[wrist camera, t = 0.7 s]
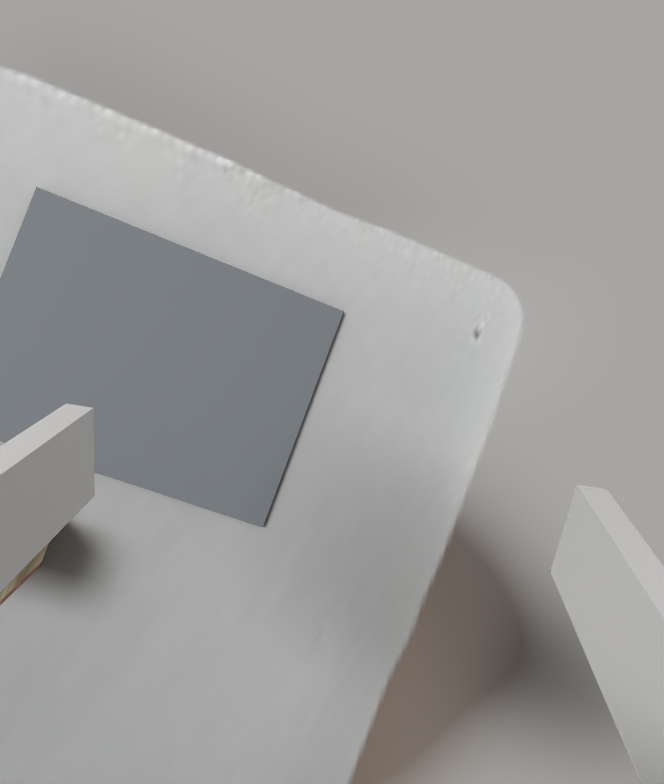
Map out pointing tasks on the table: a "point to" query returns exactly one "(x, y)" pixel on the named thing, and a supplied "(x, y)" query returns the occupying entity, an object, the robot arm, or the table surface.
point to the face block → (23, 575)
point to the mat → (158, 356)
